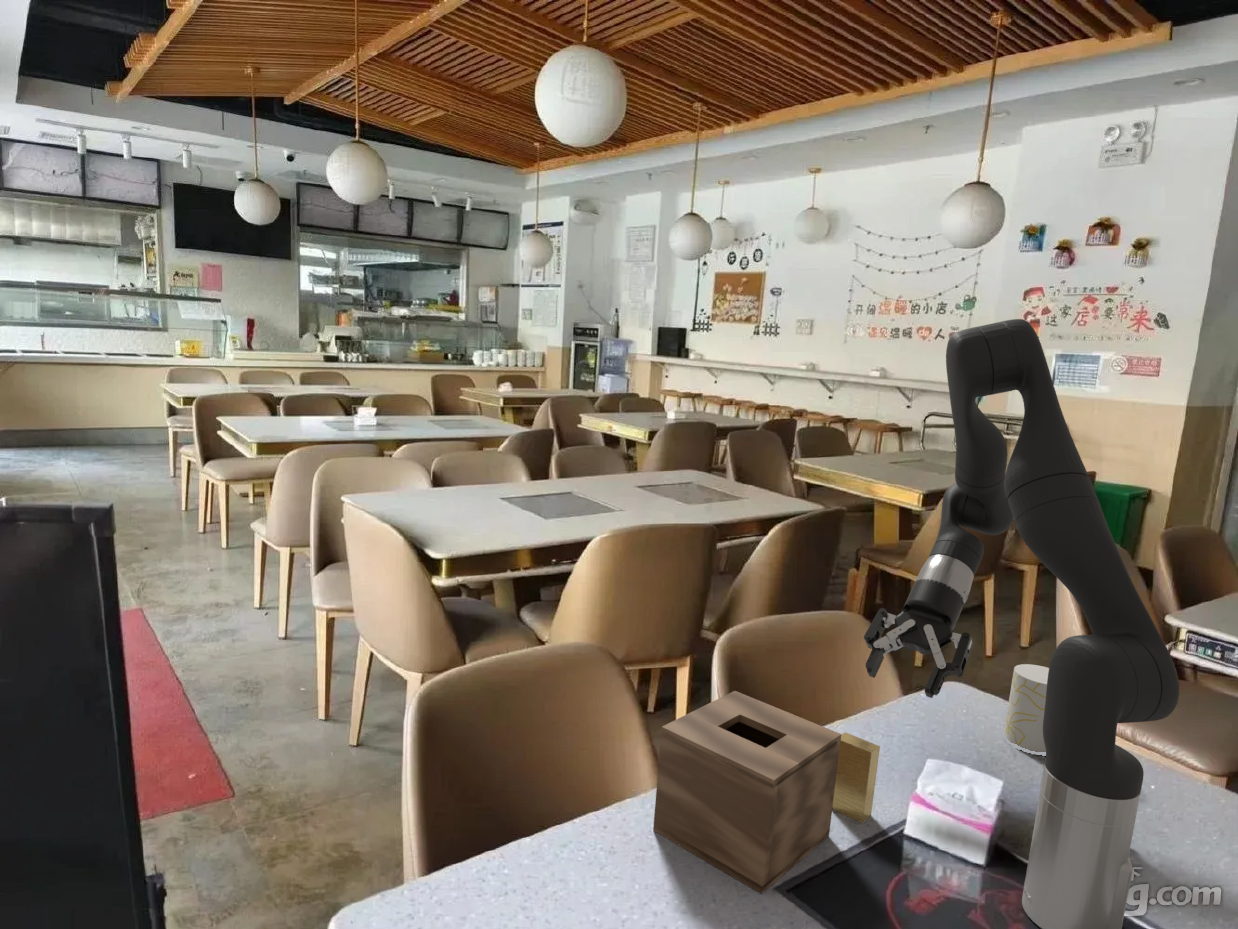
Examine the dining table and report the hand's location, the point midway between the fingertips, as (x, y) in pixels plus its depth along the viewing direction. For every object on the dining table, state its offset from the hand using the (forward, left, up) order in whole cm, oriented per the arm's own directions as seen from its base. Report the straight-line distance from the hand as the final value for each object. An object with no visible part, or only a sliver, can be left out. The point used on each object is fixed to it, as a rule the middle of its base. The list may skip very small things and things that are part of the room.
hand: (898, 684), depth 116 cm
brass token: (+4, +11, -15) cm, 19 cm away
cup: (-21, -24, -15) cm, 35 cm away
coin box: (+16, +23, -15) cm, 32 cm away
